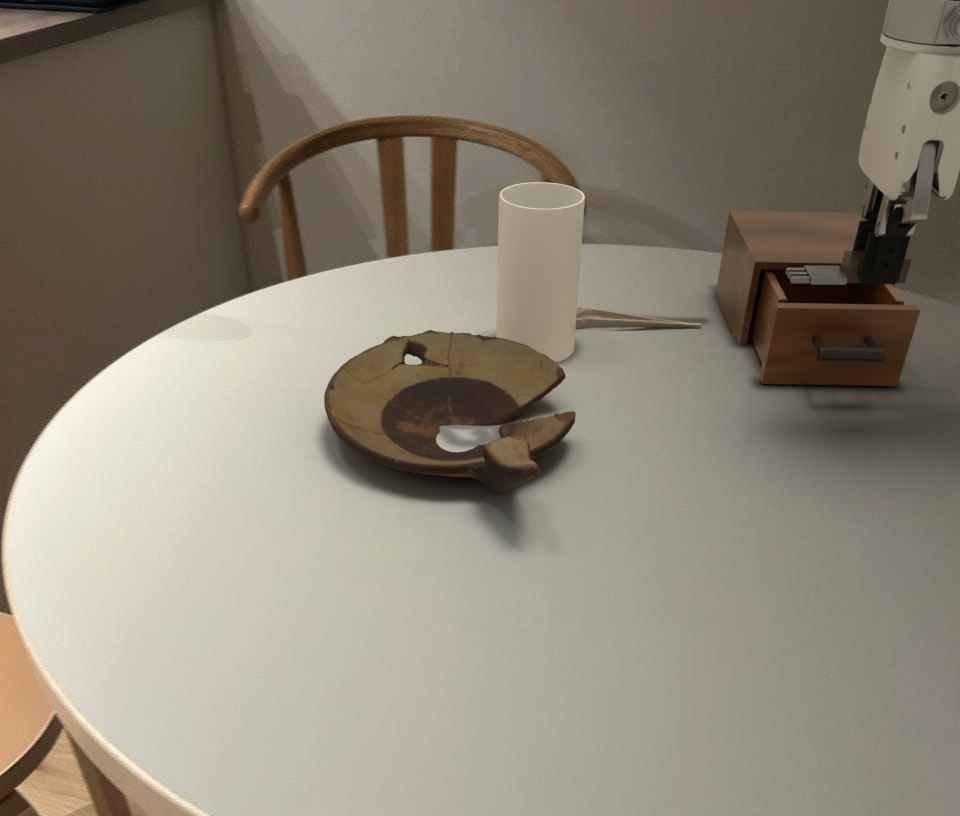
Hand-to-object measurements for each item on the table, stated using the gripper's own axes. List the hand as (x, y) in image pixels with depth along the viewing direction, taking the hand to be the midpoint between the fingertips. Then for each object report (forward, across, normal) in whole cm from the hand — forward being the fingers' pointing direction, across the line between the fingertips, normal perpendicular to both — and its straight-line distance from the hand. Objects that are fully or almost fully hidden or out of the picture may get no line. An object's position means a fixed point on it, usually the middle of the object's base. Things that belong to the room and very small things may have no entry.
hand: (872, 274), depth 83 cm
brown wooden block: (0, 0, +2) cm, 2 cm away
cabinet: (+15, +25, -2) cm, 29 cm away
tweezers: (+15, +23, +17) cm, 32 cm away
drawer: (+14, +13, -2) cm, 19 cm away
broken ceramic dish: (+15, -5, +36) cm, 39 cm away
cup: (+15, +16, +27) cm, 35 cm away
